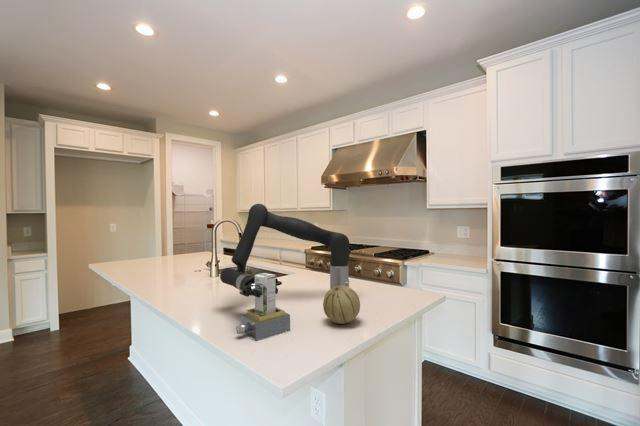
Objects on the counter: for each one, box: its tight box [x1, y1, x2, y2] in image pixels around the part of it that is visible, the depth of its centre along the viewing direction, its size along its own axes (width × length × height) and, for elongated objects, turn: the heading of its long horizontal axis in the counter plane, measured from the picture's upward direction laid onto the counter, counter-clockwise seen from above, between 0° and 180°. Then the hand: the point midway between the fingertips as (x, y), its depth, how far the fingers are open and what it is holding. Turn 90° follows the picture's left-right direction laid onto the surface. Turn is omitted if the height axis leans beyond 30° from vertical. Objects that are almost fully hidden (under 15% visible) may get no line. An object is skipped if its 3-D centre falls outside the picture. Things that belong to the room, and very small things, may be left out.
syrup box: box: [254, 272, 277, 316], centre depth 114 cm, size 6×6×14 cm
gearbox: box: [235, 306, 291, 342], centre depth 113 cm, size 18×12×8 cm, turn 129°
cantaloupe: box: [322, 286, 361, 325], centre depth 122 cm, size 15×15×15 cm
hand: (268, 292), depth 112 cm, fingers closed on syrup box, 6 cm apart
